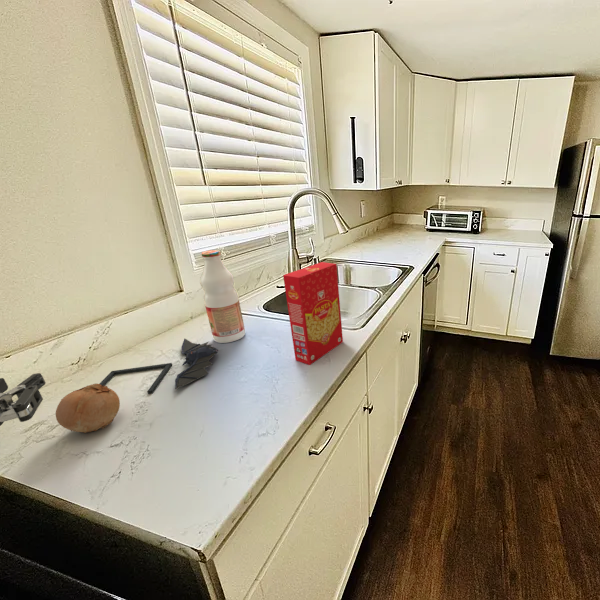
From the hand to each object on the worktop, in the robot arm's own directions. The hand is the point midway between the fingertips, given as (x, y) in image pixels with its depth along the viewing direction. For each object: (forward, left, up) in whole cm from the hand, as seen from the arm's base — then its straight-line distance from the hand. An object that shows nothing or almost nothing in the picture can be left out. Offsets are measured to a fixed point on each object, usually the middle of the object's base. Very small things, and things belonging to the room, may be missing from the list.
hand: (21, 380), depth 53 cm
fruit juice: (+19, +46, -18) cm, 53 cm away
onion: (0, +10, -18) cm, 21 cm away
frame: (0, +25, -18) cm, 31 cm away
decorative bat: (+14, +32, -18) cm, 40 cm away
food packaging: (+47, +28, -18) cm, 58 cm away
